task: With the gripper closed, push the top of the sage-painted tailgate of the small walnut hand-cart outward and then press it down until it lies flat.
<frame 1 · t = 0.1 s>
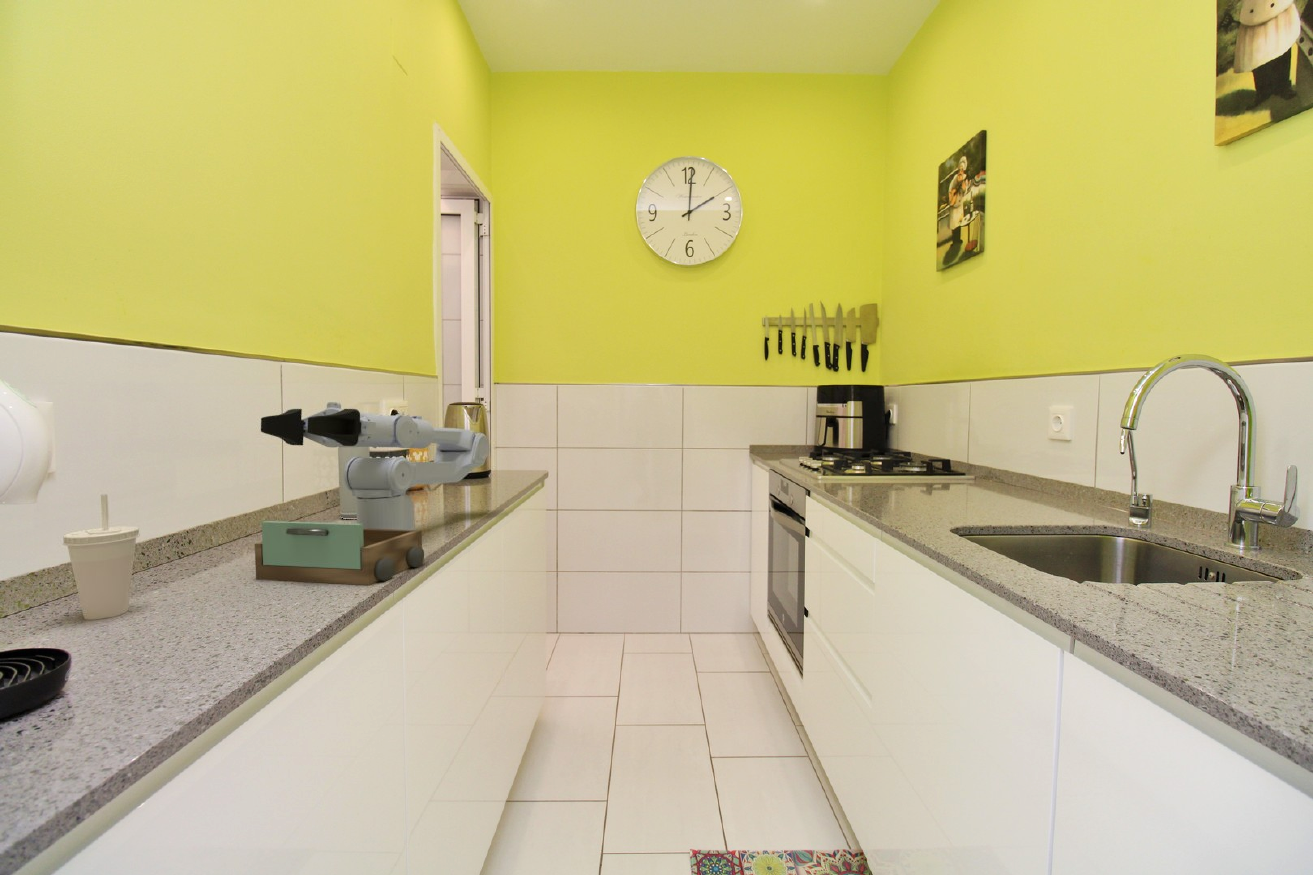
hand: (286, 424, 81), 22 cm above the worktop, tool horizontal, fingers open, 7 cm apart
tailgate: (310, 545, 78), point 5 cm above the worktop, hinge at 0.0°
smoothie: (106, 615, 67), on the worktop
cart: (343, 570, 85), on the worktop
travel mug: (356, 518, 130), on the worktop
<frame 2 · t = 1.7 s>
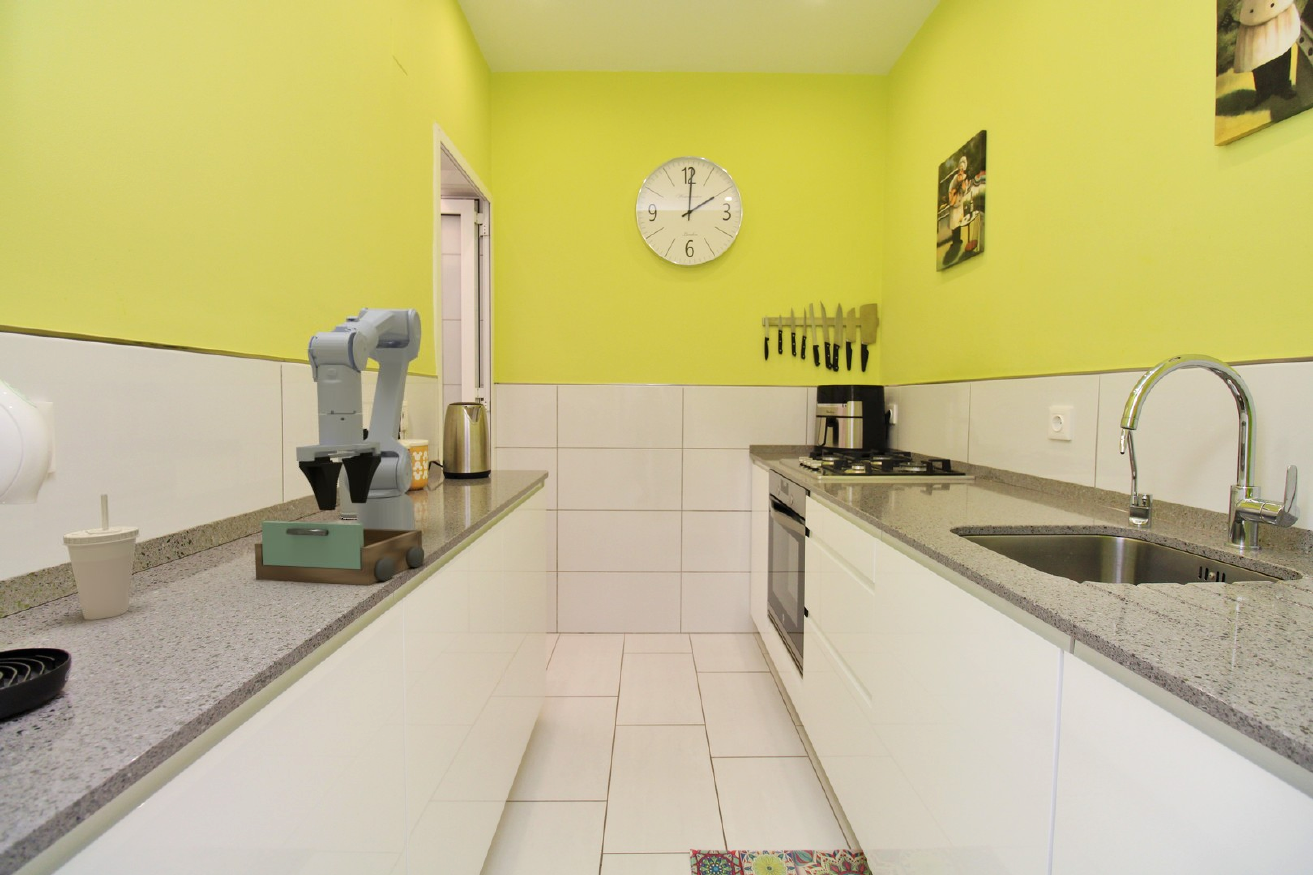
hand: (343, 506, 85), 9 cm above the worktop, tool pointing down, fingers open, 6 cm apart
nothing on the worktop moved.
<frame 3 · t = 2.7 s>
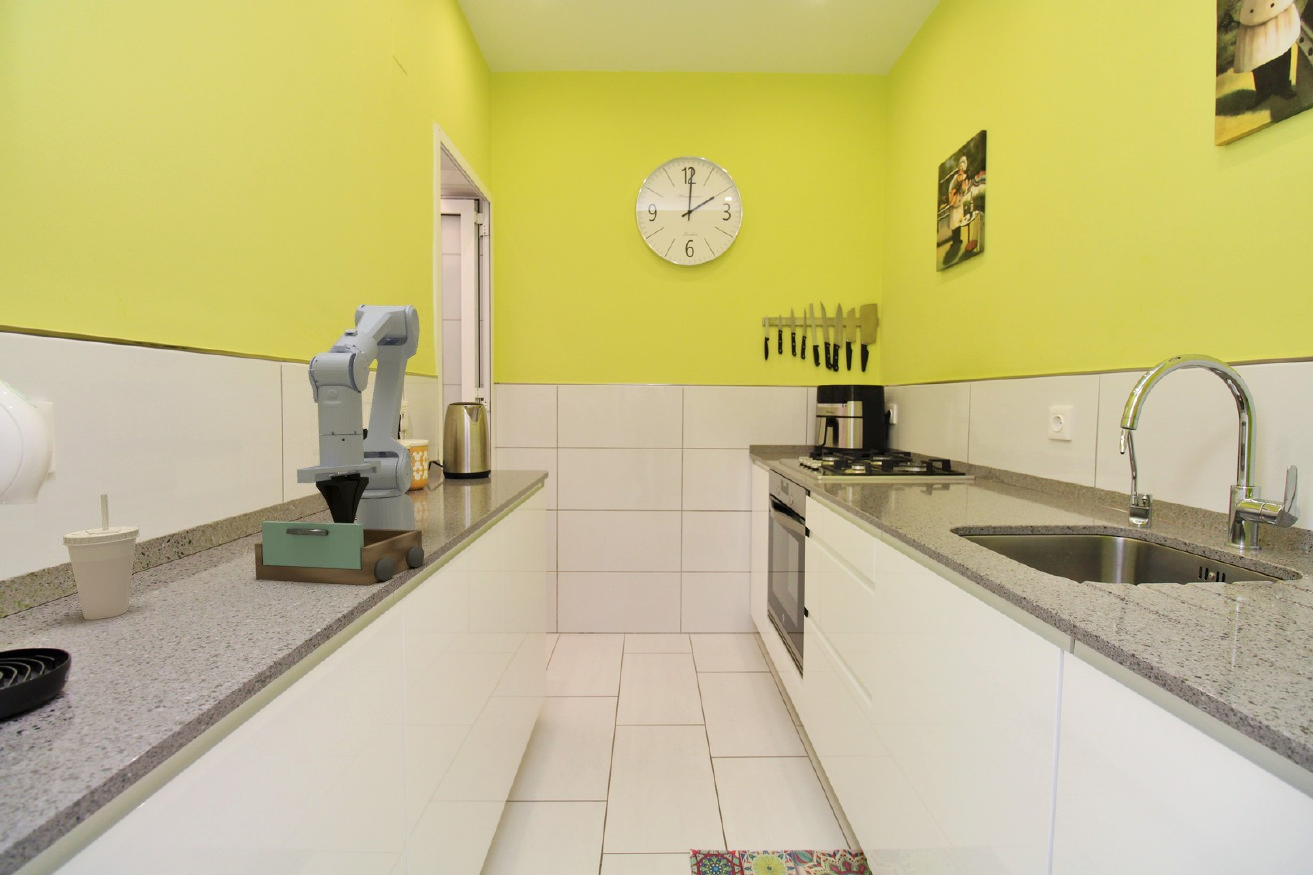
hand: (344, 526, 85), 6 cm above the worktop, tool pointing down, fingers closed
nothing on the worktop moved.
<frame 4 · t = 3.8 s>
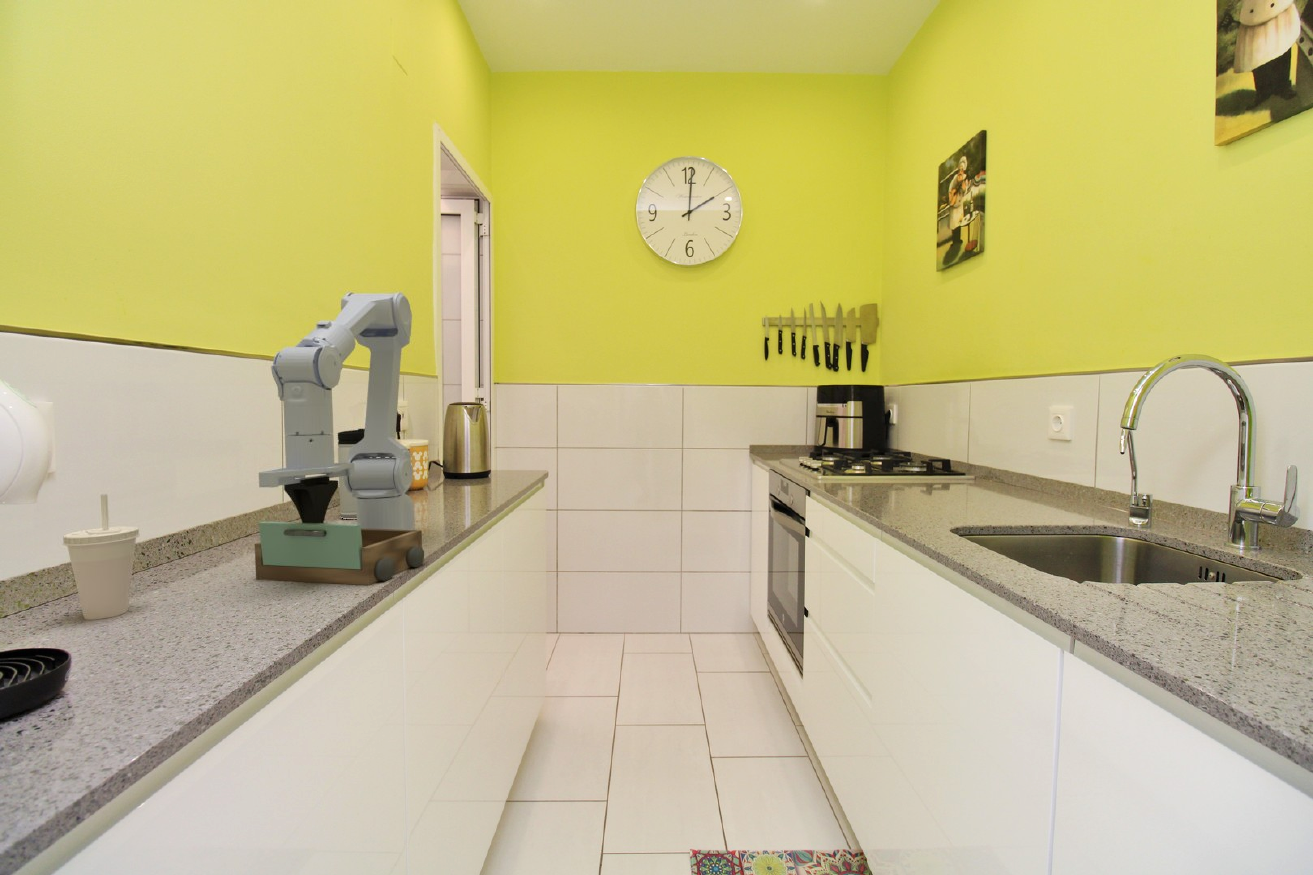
hand: (313, 533, 79), 7 cm above the worktop, tool pointing down, fingers closed, pressing on tailgate
tailgate: (308, 545, 78), point 5 cm above the worktop, hinge at 4.8°, touching gripper
everything else where it was.
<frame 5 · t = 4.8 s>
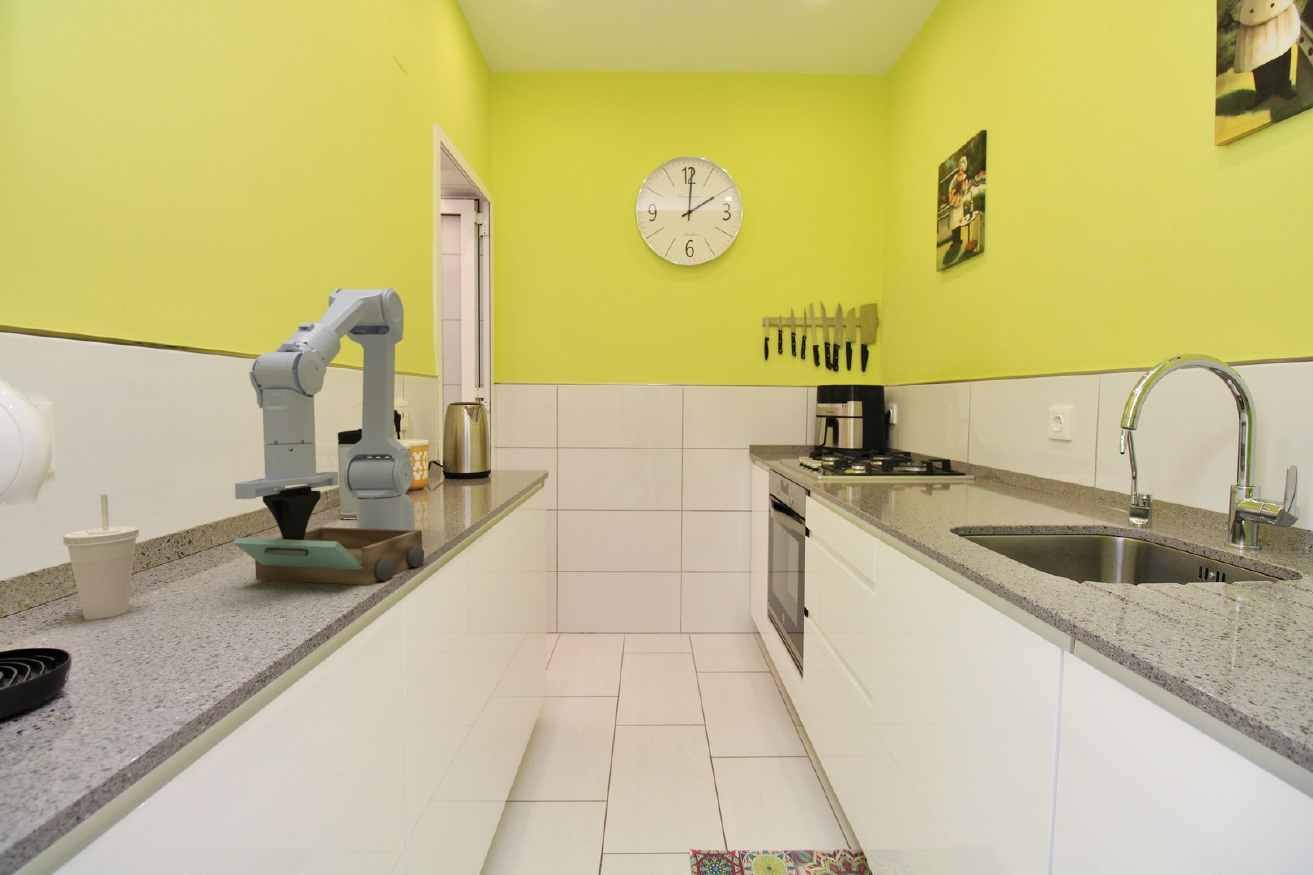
hand: (293, 546, 76), 6 cm above the worktop, tool pointing down, fingers closed, pressing on tailgate
tailgate: (296, 556, 76), point 4 cm above the worktop, hinge at 47.2°, touching gripper
everything else where it was.
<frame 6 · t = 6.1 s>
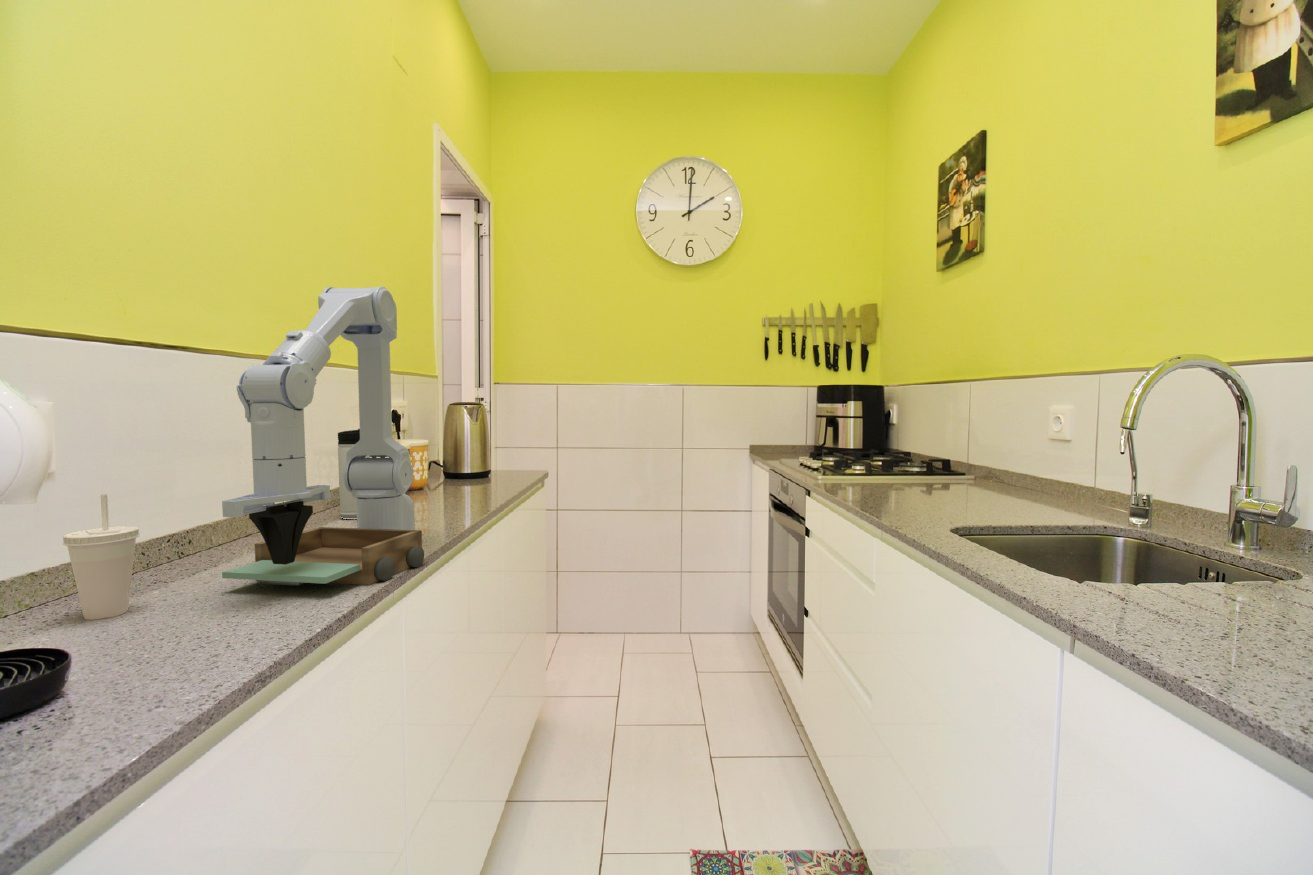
hand: (283, 562, 74), 4 cm above the worktop, tool pointing down, fingers closed
tailgate: (292, 574, 76), point 2 cm above the worktop, hinge at 90.5°
everything else where it was.
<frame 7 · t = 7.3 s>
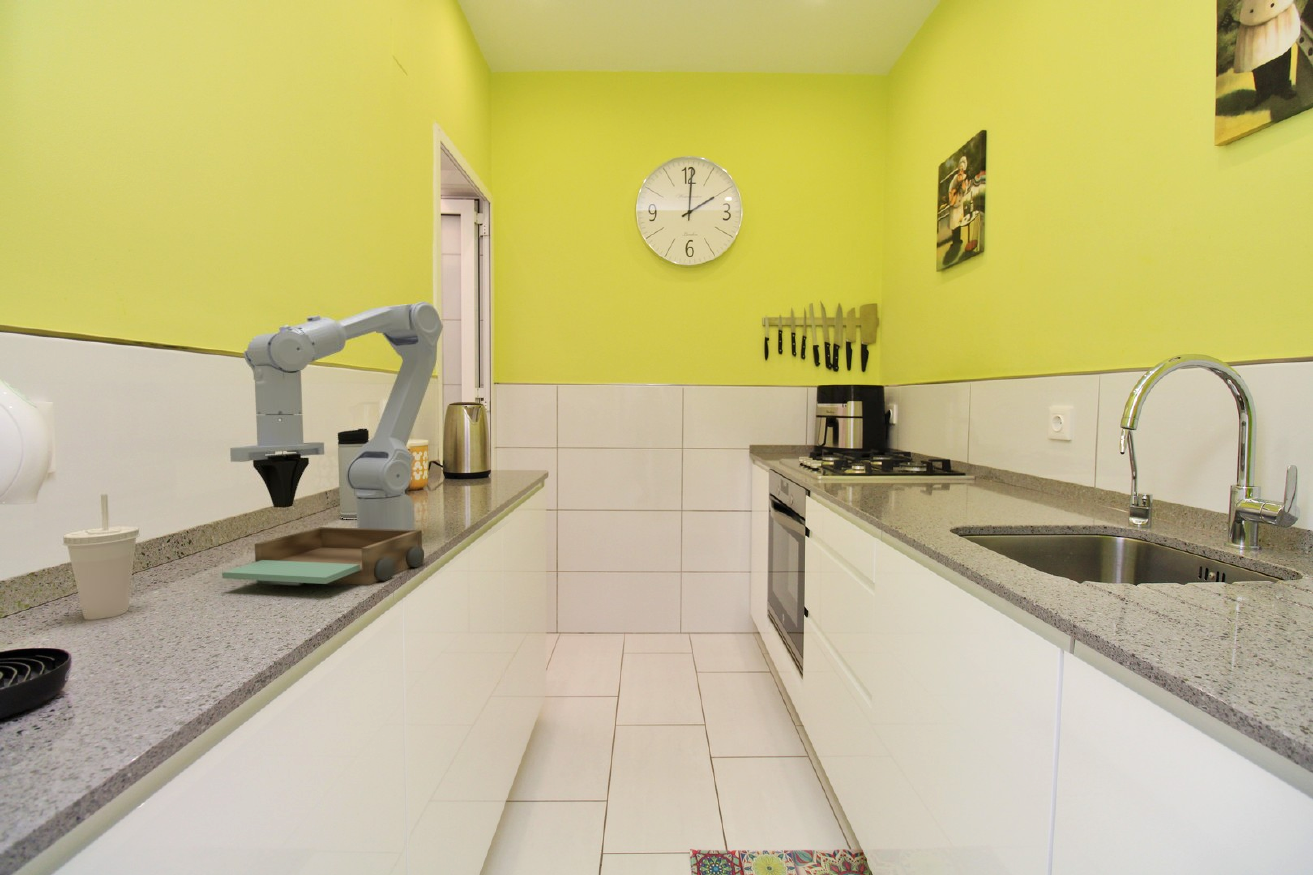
hand: (283, 506, 85), 9 cm above the worktop, tool pointing down, fingers closed
nothing on the worktop moved.
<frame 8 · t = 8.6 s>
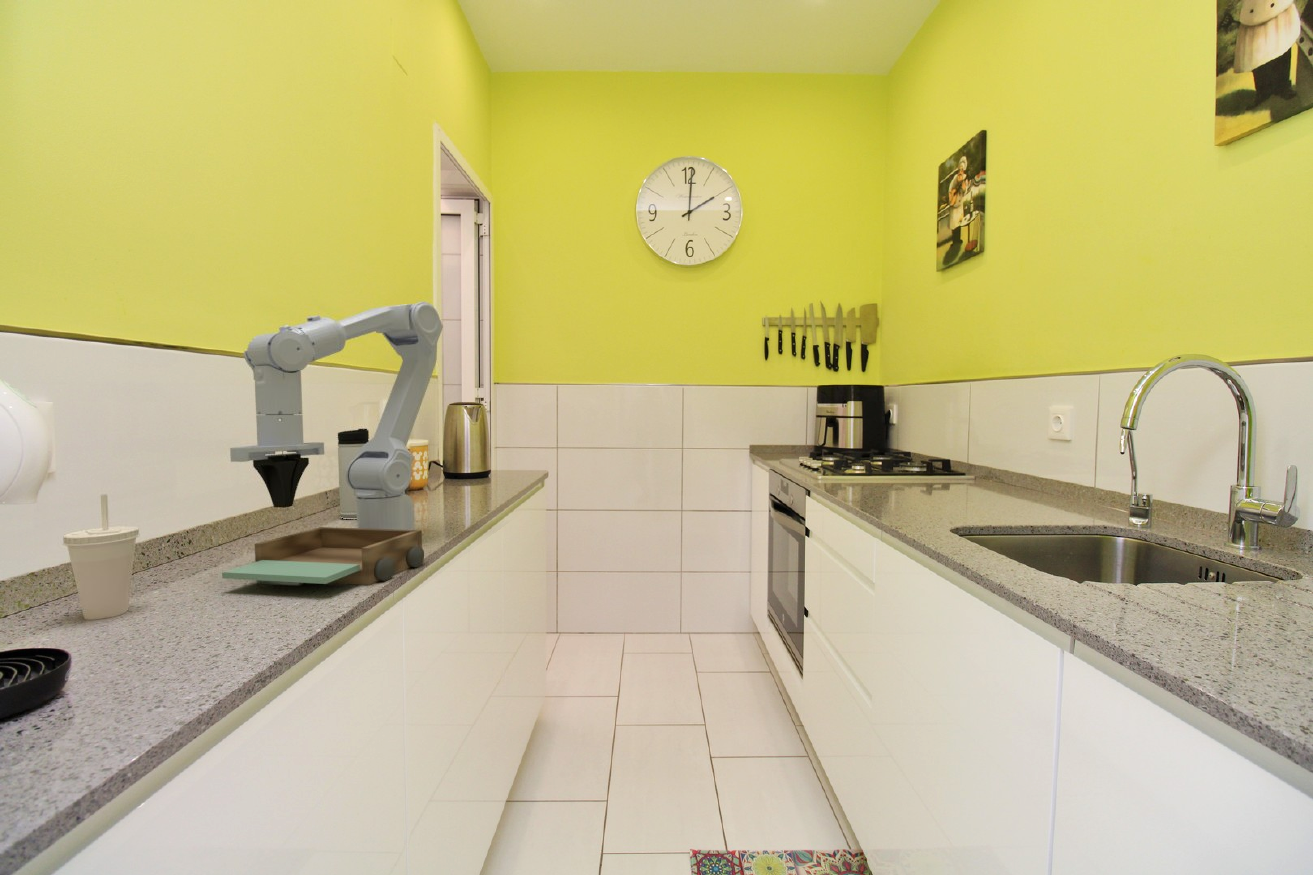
hand: (283, 506, 85), 9 cm above the worktop, tool pointing down, fingers closed
nothing on the worktop moved.
at the end: tailgate at +91° (first picture: +0°); smoothie moved 0.2 cm from its start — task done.
